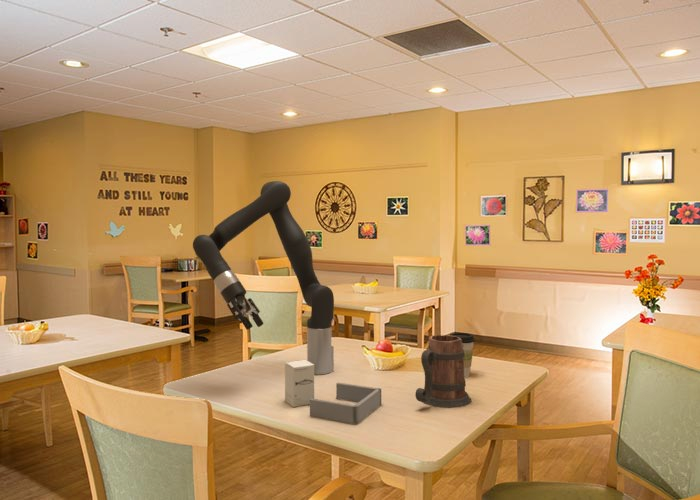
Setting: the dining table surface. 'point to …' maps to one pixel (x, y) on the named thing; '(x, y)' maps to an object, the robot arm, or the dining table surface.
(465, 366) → the coffee cup
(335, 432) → the dining table surface
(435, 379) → the tankard
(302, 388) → the supplement box
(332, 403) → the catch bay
